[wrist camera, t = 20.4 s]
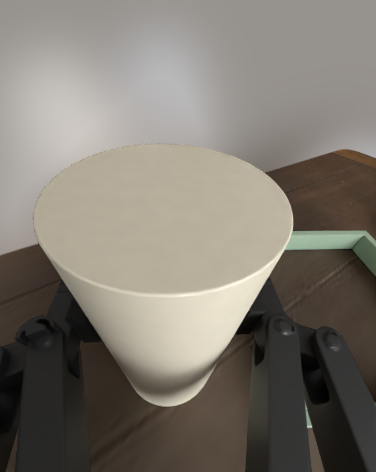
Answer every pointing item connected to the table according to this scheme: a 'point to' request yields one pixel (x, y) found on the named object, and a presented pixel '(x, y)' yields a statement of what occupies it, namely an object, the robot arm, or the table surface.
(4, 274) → the table surface
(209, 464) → the table surface
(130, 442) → the table surface
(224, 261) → the pillar candle
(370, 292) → the table surface
